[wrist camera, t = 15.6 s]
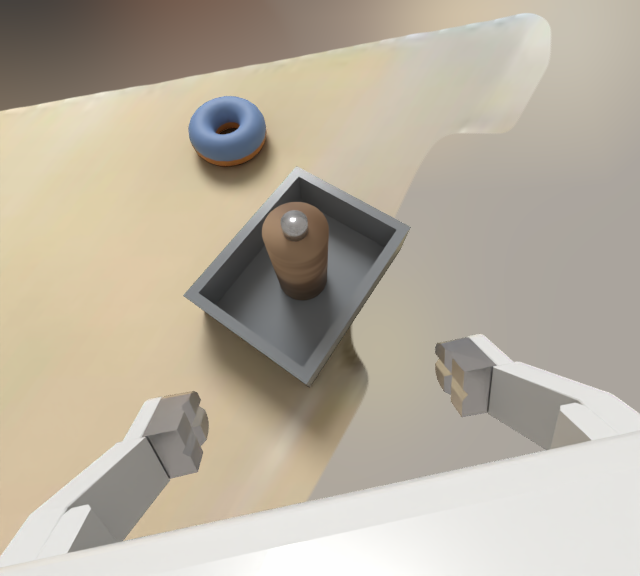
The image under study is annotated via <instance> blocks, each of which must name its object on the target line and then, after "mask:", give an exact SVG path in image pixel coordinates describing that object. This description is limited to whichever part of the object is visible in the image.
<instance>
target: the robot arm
mask: <svg viewBox="0 0 640 576" xmlns="http://www.w3.org/2000/svg"><path fill="white" fill-rule="evenodd" d="M435 353H436V355H437V356H438V357H439V359H438V361H437V362H436V364H435V370H436V376H437V380H438V382H439V384H440V386H441V388H442V389H443V391H444V392H446V393H448V394H450V395H451V402H452V404H453V405H454V407H455V408H456V410H457V411H458V412H459V414H460V415H461V417H465V416H471V415H477V414H482V413H488V414H489V415H491V416H493V417H494V418H496V419H498V420H499V421H501V422H502V423H504V424H506V425H507V426H509V427H510V428H512V429H513V430H515V431H517V432H518V433H520V434H522V435H523V436H525V437H526V438H528V439H530V440H531V441H533V442H535V443H536V444H538V445H539V446H541V447H542V448H544V449H546V450H545V451H540V452H536V453H531V454H527V455H522V456H517V457H513V458H508V459H503V460H498V461H494V462H489V463H484V464H480V465H475V466H470V467H466V468H461V469H457V470H452V471H447V472H442V473H438V474H433V475H429V476H424V477H419V478H415V479H410V480H406V481H401V482H396V483H391V484H387V485H382V486H377V487H373V488H368V489H363V490H359V491H354V492H350V493H345V494H340V495H336V496H331V497H326V498H321V499H317V500H312V501H307V502H303V503H298V504H293V505H289V506H284V507H279V508H275V509H270V510H265V511H261V512H256V513H252V514H247V515H242V516H238V517H233V518H228V519H224V520H219V521H214V522H210V523H205V524H200V525H196V526H191V527H186V528H182V529H177V530H172V531H168V532H163V533H158V534H154V535H149V536H144V537H140V538H135V539H131V540H126V541H123V540H124V539H125V538H126V536H127V535H128V534H129V532H130V531H131V530H132V529H133V527H134V526H135V525H136V523H137V522H138V521H139V520H140V518H141V517H142V516H143V514H144V513H145V512H146V510H147V509H148V508H149V507H150V505H151V504H152V503H153V501H154V500H155V499H156V498H157V496H158V495H159V494H160V492H161V491H162V490H163V489H164V487H165V486H166V485H167V483H168V482H169V481H170V479H171V478H175V477H179V476H183V475H187V474H192V473H196V472H198V469H199V466H200V462H201V458H202V455H203V451H202V449H201V445H202V444H203V443H204V442H205V441H206V440H207V436H208V428H209V422H208V417H207V414H206V411H205V410H204V409H203V408H201V407H199V404H200V401H201V399H200V397H199V395H198V393H197V392H195V391H191V392H186V393H180V394H174V395H169V396H164V397H158V398H153V399H149V400H147V401H146V402H145V403H144V404H143V406H142V408H141V410H140V411H139V413H138V415H137V417H136V418H135V420H134V422H133V424H132V426H131V427H130V429H129V431H128V433H127V434H126V436H125V438H124V440H123V442H118V443H116V444H115V445H114V446H113V447H111V448H110V449H109V450H108V451H107V452H105V453H104V454H103V455H102V456H101V457H99V458H98V459H97V460H96V461H95V462H93V463H92V464H91V465H90V466H88V467H87V468H86V469H85V470H84V471H82V472H81V473H80V474H79V475H78V476H76V477H75V478H74V479H73V480H72V481H70V482H69V483H68V484H67V485H65V486H64V487H63V488H62V489H61V490H59V491H58V492H57V493H56V494H55V495H53V496H52V497H51V498H50V499H48V500H47V501H46V502H45V503H44V504H42V505H41V506H40V507H39V508H38V509H36V510H35V511H34V512H33V513H32V514H30V515H29V517H28V518H27V520H26V521H25V522H24V524H23V525H22V527H21V528H20V529H19V531H18V532H17V534H16V535H15V537H14V538H13V539H12V541H11V542H10V544H9V545H8V547H7V548H6V549H5V551H4V552H3V554H2V555H1V556H0V576H640V414H639V413H638V412H636V411H635V410H633V409H632V408H631V407H630V406H628V405H627V404H625V403H624V402H623V401H621V400H620V399H619V398H617V397H616V396H614V395H613V394H611V393H608V392H605V391H603V390H600V389H597V388H594V387H591V386H588V385H585V384H582V383H579V382H576V381H574V380H571V379H568V378H565V377H562V376H559V375H556V374H553V373H550V372H548V371H545V370H542V369H539V368H536V367H533V366H530V365H527V364H525V363H522V362H513V361H512V360H511V359H510V358H508V356H506V355H505V354H504V353H503V352H502V351H501V350H500V349H498V347H496V346H495V345H494V344H493V343H492V342H491V341H490V340H489V339H487V338H486V337H485V336H484V335H482V334H477V335H472V336H468V337H465V338H461V339H455V340H450V341H446V342H441V343H437V344H436V347H435Z"/></svg>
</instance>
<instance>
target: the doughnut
mask: <svg viewBox="0 0 640 576" xmlns="http://www.w3.org/2000/svg"><path fill="white" fill-rule="evenodd" d="M230 128H237V130H236V131H234V132H232V133H229V134H224V135H223V134H219V133H221V132H222V131H224V130H226V129H230ZM188 130H189V138H190V141H191V143H192V146H193V147H194V149H195V151H196V152H197V154H198V155H199V156H200V157H202V158H203V159H205V160H206V161H207V162H209V163H212V164H215V165H218V166H233V165H238V164H242V163H244V162H246V161H248V160H250V159H252V158H253V157H254V156H255V155H256V154H257V153H259V151H260V150H261V148H262V146H263V145H264V142H265V138H266V125H265V121H264V117H263V115H262V113H261V112H260V111H259V109H258V108H257V107H256V106H255V105H254V104H252V103H251V102H249V101H248V100H246V99H242V98H239V97H233V96H224V97H219V98H215V99H212V100H210V101H208V102H206V103H204V104H203V105H202V106H200V107H199V108H198V109H197V110H196V112H195V113H194V115H193V116H192V117H191V120H190V124H189V129H188Z"/></svg>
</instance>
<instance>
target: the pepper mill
mask: <svg viewBox="0 0 640 576" xmlns="http://www.w3.org/2000/svg"><path fill="white" fill-rule="evenodd" d="M262 237H263V241H264V244H265V246H266V249H267V252H268V254H269V257H270V259H271V262H272V265H273V267H274V270H275V273H276V275H277V278H278V281H279V283H280V286H281V288H282V290H283V291H284V293H285V294H286V295H288V296H289V297H291V298H293V299H296V300H309V299H312V298H314V297H316V296H318V295H319V294H320V293H321V292H322V291H323V289H324V288H325V285H326V282H327V266H328V241H329V226H328V222H327V220H326V218H325V216H324V215H323V213H322V212H321V211H320V210H319V209H317V208H316V207H314V206H312V205H310V204H307V203H303V202H289V203H285V204H282V205H280V206H278V207H277V208H275V209H274V210H272V211H271V212H270V213H269V214H268V216H267V217H266V219H265V221H264V223H263V227H262Z"/></svg>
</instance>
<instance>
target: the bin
mask: <svg viewBox="0 0 640 576" xmlns="http://www.w3.org/2000/svg"><path fill="white" fill-rule="evenodd" d="M289 202H303V203H307V204H310V205H312V206H314V207H316V208H317V209H319V210H320V211H321V212H322V213H323V215H324V216H325V218H326V220H327V222H328V226H329V241H328V266H327V282H326V285H325V288H324V289H323V291H322V292H321V293H320V294H319V295H318V296H316V297H314V298H312V299H309V300H296V299H293V298H291V297H289V296H288V295H286V294H285V293H284V291H283V290H282V288H281V286H280V283H279V281H278V278H277V275H276V273H275V270H274V267H273V265H272V262H271V259H270V257H269V254H268V252H267V249H266V246H265V244H264V241H263V237H262V227H263V223H264V221H265V219H266V217H267V216H268V214H269V213H270V212H271V211H272V210H274V209H275V208H277V207H278V206H280V205H282V204H285V203H289ZM410 228H411V227H409V226H407V225H406V224H404V223H402V222H400V221H398V220H396V219H394V218H393V217H391V216H389V215H387V214H385V213H383V212H381V211H379V210H378V209H376V208H374V207H372V206H370V205H368V204H366V203H364V202H363V201H361V200H359V199H357V198H355V197H353V196H351V195H349V194H348V193H346V192H344V191H342V190H340V189H338V188H336V187H335V186H333V185H331V184H329V183H327V182H325V181H323V180H321V179H320V178H318V177H316V176H314V175H312V174H310V173H308V172H306V171H305V170H303V169H301V168H299V167H297V166H296V167H295V168H294V170H293V171H292V172H291V173H290V174H289V175H288V176H287V178H286V179H285V180H284V181H283V182H282V183H281V184H280V186H279V187H278V188H277V189H276V190H275V191H274V192H273V194H272V195H271V196H270V197H269V198H268V199H267V200H266V202H265V203H264V204H263V205H262V206H261V207H260V208H259V210H258V211H257V212H256V213H255V214H254V215H253V216H252V218H251V219H250V220H249V221H248V222H247V223H246V224H245V226H244V227H243V228H242V229H241V230H240V231H239V232H238V234H237V235H236V236H235V237H234V238H233V239H232V240H231V242H230V243H229V244H228V245H227V246H226V247H225V248H224V250H223V251H222V252H221V253H220V254H219V255H218V256H217V258H216V259H215V260H214V261H213V262H212V263H211V264H210V266H209V267H208V268H207V269H206V270H205V271H204V272H203V274H202V275H201V276H200V277H199V278H198V279H197V280H196V282H195V283H194V284H193V285H192V286H191V287H190V288H189V290H188V291H187V292H186V293H185V294H184V295H183V296H184V297H186V298H187V299H188V300H190V301H191V302H192V303H194V304H195V305H197V306H198V307H199V308H201V309H202V310H203V311H205V312H206V313H208V314H209V315H210V316H212V317H213V318H215V319H216V320H217V321H219V322H220V323H221V324H223V325H224V326H226V327H227V328H228V329H230V330H231V331H233V332H234V333H235V334H237V335H238V336H239V337H241V338H242V339H244V340H245V341H246V342H248V343H249V344H250V345H252V346H253V347H255V348H256V349H257V350H259V351H260V352H262V353H263V354H264V355H266V356H267V357H268V358H270V359H271V360H273V361H274V362H275V363H277V364H278V365H280V366H281V367H282V368H284V369H285V370H286V371H288V372H289V373H291V374H292V375H293V376H295V377H296V378H298V379H299V380H300V381H302V382H303V383H304V384H306V385H307V386H309V387H310V386H311V385H312V383H313V382H314V380H315V378H316V377H317V375H318V374H319V372H320V371H321V369H322V368H323V366H324V365H325V363H326V362H327V360H328V359H329V357H330V356H331V354H332V353H333V351H334V350H335V348H336V347H337V345H338V344H339V342H340V341H341V339H342V338H343V336H344V334H345V333H346V331H347V330H348V328H349V327H350V325H351V324H352V322H353V321H354V319H355V318H356V316H357V315H358V313H359V312H360V310H361V308H362V307H363V305H364V304H365V303H366V301H367V300H368V298H369V297H370V295H371V294H372V292H373V291H374V289H375V287H376V286H377V284H378V283H379V281H380V280H381V278H382V277H383V275H384V274H385V272H386V271H387V269H388V268H389V266H390V265H391V263H392V262H393V260H394V259H395V257H396V255H397V254H398V253H399V251H400V249H401V247H402V245H403V243H404V240H405V238H406V236H407V234H408V232H409V230H410Z"/></svg>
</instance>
